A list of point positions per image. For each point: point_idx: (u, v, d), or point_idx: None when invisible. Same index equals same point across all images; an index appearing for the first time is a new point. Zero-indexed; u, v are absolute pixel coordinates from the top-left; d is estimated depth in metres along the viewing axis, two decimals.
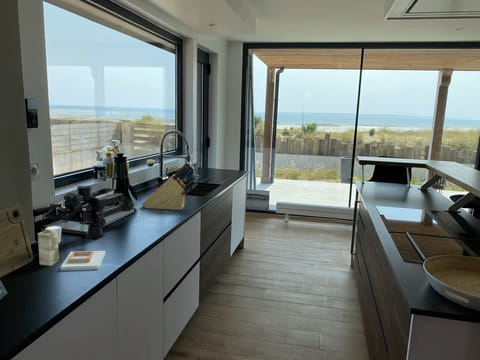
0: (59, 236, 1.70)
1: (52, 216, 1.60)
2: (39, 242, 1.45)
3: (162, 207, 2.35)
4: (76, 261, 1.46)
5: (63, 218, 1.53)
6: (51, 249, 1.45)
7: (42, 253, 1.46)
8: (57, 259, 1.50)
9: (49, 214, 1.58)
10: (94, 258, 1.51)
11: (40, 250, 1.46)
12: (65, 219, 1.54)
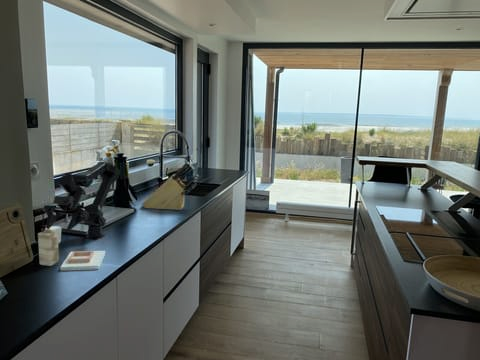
0: (59, 236, 1.70)
1: (53, 221, 1.56)
2: (39, 242, 1.45)
3: (162, 207, 2.35)
4: (76, 261, 1.46)
5: (68, 229, 1.51)
6: (51, 249, 1.45)
7: (42, 253, 1.46)
8: (57, 259, 1.50)
9: (50, 223, 1.54)
10: (94, 258, 1.51)
11: (40, 250, 1.46)
12: (70, 228, 1.52)
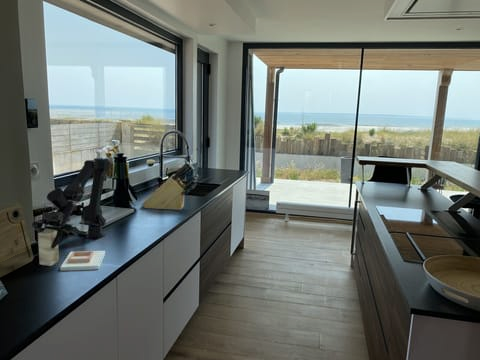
0: None
1: None
2: (39, 242, 1.45)
3: (162, 207, 2.35)
4: (76, 261, 1.46)
5: (53, 246, 1.46)
6: (51, 249, 1.45)
7: (42, 253, 1.46)
8: (57, 259, 1.50)
9: None
10: (94, 258, 1.51)
11: (40, 250, 1.45)
12: (55, 245, 1.47)
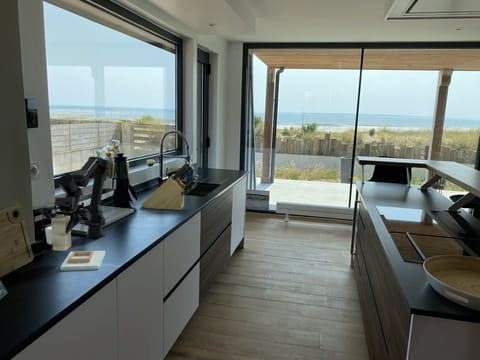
0: None
1: None
2: (53, 227, 1.44)
3: (162, 207, 2.35)
4: (76, 261, 1.46)
5: (67, 231, 1.46)
6: (65, 234, 1.45)
7: (56, 238, 1.45)
8: (70, 244, 1.49)
9: None
10: (94, 258, 1.51)
11: (53, 235, 1.44)
12: (69, 230, 1.46)
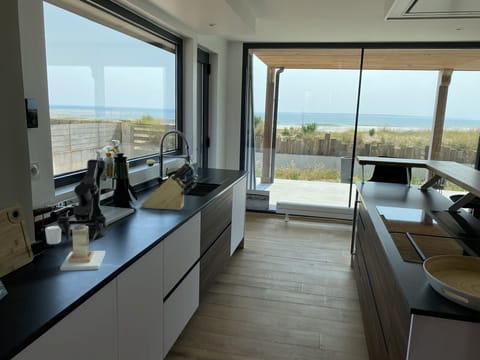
0: (59, 236, 1.70)
1: (69, 233, 1.50)
2: (74, 239, 1.46)
3: (161, 207, 2.35)
4: (76, 261, 1.46)
5: (93, 239, 1.49)
6: (86, 244, 1.48)
7: (77, 249, 1.47)
8: (88, 254, 1.52)
9: (68, 235, 1.48)
10: (94, 258, 1.51)
11: (74, 247, 1.47)
12: (94, 238, 1.50)
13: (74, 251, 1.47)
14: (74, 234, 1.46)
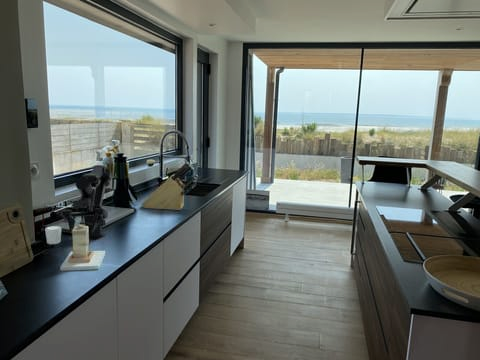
0: (59, 236, 1.70)
1: (73, 224, 1.60)
2: (74, 239, 1.46)
3: (161, 207, 2.35)
4: (76, 261, 1.46)
5: (93, 230, 1.57)
6: (86, 244, 1.48)
7: (77, 249, 1.47)
8: (88, 254, 1.52)
9: (72, 227, 1.58)
10: (94, 258, 1.51)
11: (74, 247, 1.47)
12: (94, 229, 1.58)
13: (74, 251, 1.47)
14: (74, 234, 1.46)
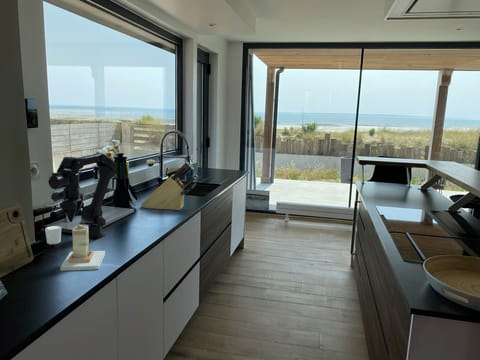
0: (59, 236, 1.70)
1: (78, 206, 1.69)
2: (74, 239, 1.46)
3: (161, 207, 2.35)
4: (76, 261, 1.46)
5: (70, 220, 1.60)
6: (86, 244, 1.48)
7: (77, 249, 1.47)
8: (88, 254, 1.52)
9: None
10: (94, 258, 1.51)
11: (74, 247, 1.47)
12: (71, 219, 1.60)
13: (74, 251, 1.47)
14: (74, 234, 1.46)
